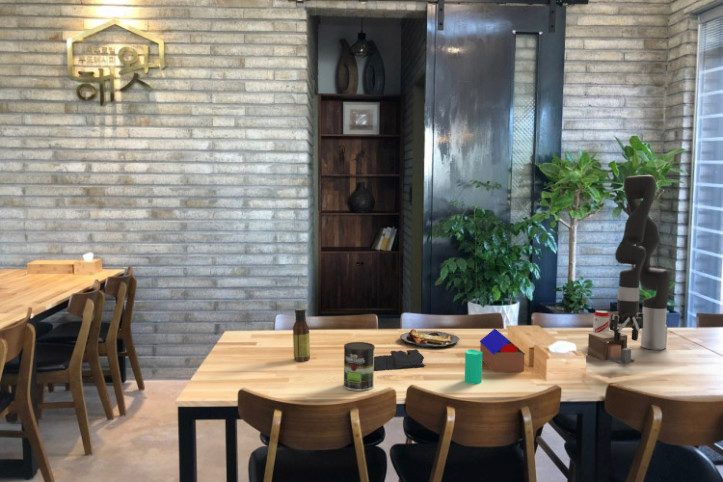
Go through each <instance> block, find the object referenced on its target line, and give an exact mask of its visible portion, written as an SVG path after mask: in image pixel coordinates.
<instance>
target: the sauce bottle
mask: <svg viewBox="0 0 723 482" xmlns="http://www.w3.org/2000/svg"><path fill="white" fill-rule="evenodd" d="M306 310H307V309H306V308H303V307H299V308H297V307H296V308H295V309H294V314H295V322H294V323H293V327H292V340H293V342H292V344H293V358H294V361H297V362H299V363H300V362H307V361H309V360H310V359H311V357H310V356H311V343H310V329H309V326H308V324H307V321H306V320H307V319H306V312H307V311H306Z"/></svg>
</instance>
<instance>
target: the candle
mask: <svg viewBox="0 0 723 482" xmlns="http://www.w3.org/2000/svg"><path fill="white" fill-rule="evenodd" d="M464 353H465V354H464V355H465V356H464V382H465V383H467V384H471V385H472V384H473V385H478V384H482V381H483V380H482V378H483V377H482V375H483V360H482V352H481V351H480V350H477V349H475V348H472V349H471V348H470V349H466V350H465V352H464Z"/></svg>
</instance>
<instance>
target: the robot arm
mask: <svg viewBox="0 0 723 482" xmlns="http://www.w3.org/2000/svg"><path fill="white" fill-rule="evenodd" d="M655 179H656V178H655V177H654V176H653V175H652V174H643V175H642V174H641V175H640V174H639V175H629V176H626V177H625V178H624V182H623V187H624V188H623V190H624V195H625V199H626V203H627V205H628V211H629V216H628V217H627V219H626V221H625V226H624V231H623V237H622V238H621V241H620V242H619V244H618V246H617V247H616V249H615V254H614V255H615V260H616V262H617V263H618V264H621V265H634V267H633V268H631V269H626V270H620V272H619V278H618V279H619V280H618V281H619V282H618V290H617V301H616V304H617V305H616V309H617V311H618V312H617V314H611V315H610V320H609V331H614V341H615V342H620V337H621V334H622V333H621V332H622V330H623V329H624V328H625V327H628V326H630V327H631V329H632V330H631V340H632V341H634V342H635V341H638V339H639V331H640V330H641V331H640V332H641V333H640V335H641V336H640V347H641V348H643V349H648V350H655V351H658V350H659V351H660V350H665V348H666V349H667V338H668V325H667V310H668V309H667V308H668V303H669V295H670V285H671V274H670V272H669V271H668V270H667V269H663V268H656V267H655V268H654V267H652V266H651V257H652V255H653V253H654V252H656V251H655V250H656V249H657V247H658V244H659V242H660V236H659V231H658V226H657V224H656V222H655V220H654V219H653V218H652V217H651V216H650V215H649V213H650V211H651V208H652V205H653V202H654V198H655V196H656V191H657V185H656V183H657V182H656V180H655ZM640 199H641V202H639V200H640ZM640 286H641V288H642V289H643V290H648V291H653V292H656V293H655V295H654V296H651V297H647V298H644V299H643V301H642V312H639V307H640Z"/></svg>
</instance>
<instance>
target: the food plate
mask: <svg viewBox="0 0 723 482" xmlns="http://www.w3.org/2000/svg"><path fill="white" fill-rule="evenodd" d="M399 337H400V339H401V340H402V341H403V342H405V343H406V342H407V343H409V344H414V345H416V346H418V347H422V348H425V347H426V348H427V347H429V348H431V347H433V348H435V347H438V348H439V347H445V346H449V345H452V344H455V343H457V342H459V341H460V340H461V339H460V337H459V336H458V335H455V334H452V333H448V332H445V331H436V330H433V331H432V330H415V329H411V330H410V331H408V332H405V333H403V334H401V335H400V336H399Z"/></svg>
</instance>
